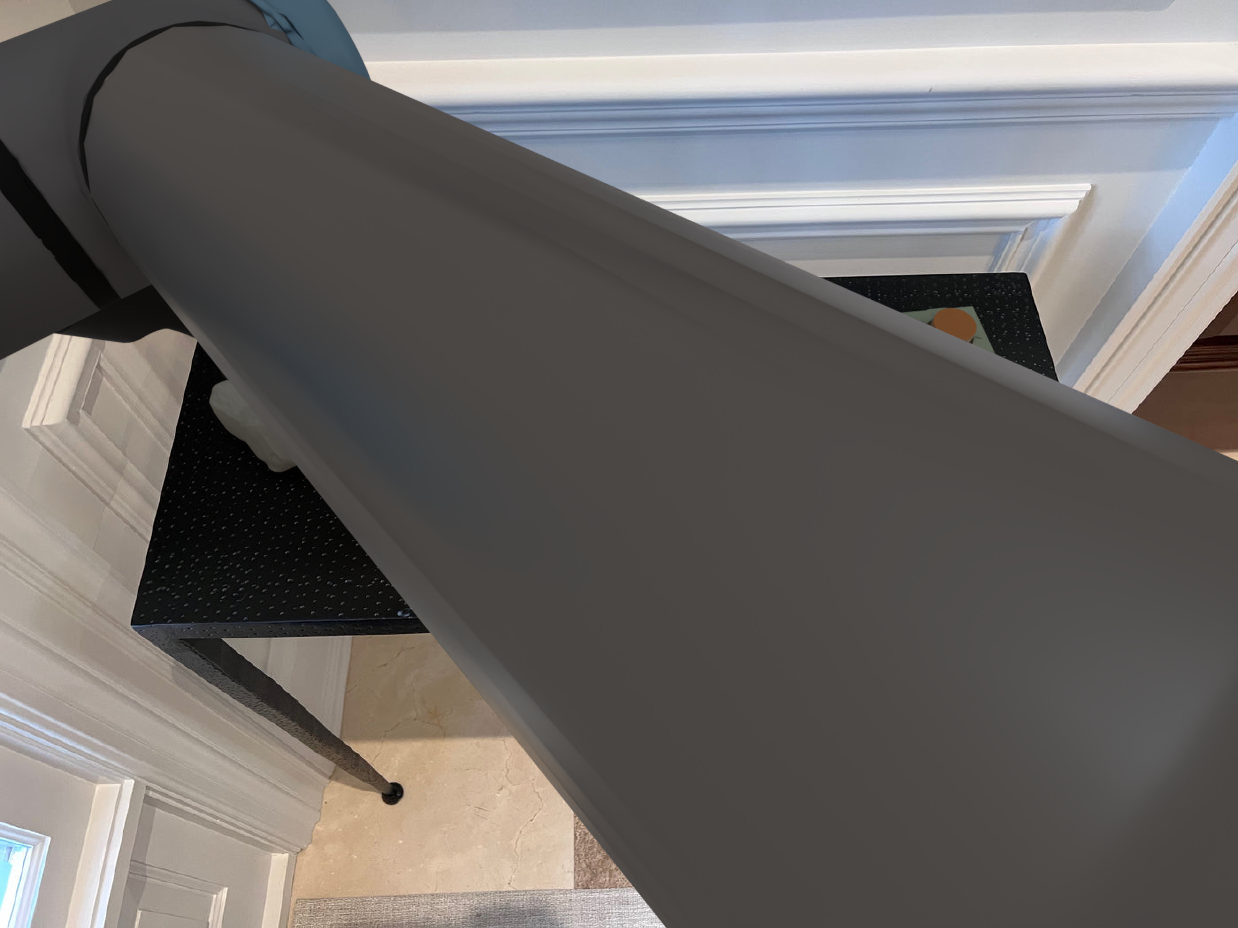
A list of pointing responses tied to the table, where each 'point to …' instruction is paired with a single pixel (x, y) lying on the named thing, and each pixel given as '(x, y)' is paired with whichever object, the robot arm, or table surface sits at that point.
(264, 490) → the table surface
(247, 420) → the decorative stone
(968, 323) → the button
